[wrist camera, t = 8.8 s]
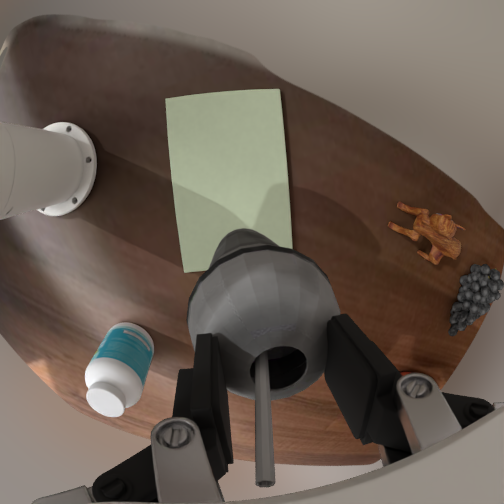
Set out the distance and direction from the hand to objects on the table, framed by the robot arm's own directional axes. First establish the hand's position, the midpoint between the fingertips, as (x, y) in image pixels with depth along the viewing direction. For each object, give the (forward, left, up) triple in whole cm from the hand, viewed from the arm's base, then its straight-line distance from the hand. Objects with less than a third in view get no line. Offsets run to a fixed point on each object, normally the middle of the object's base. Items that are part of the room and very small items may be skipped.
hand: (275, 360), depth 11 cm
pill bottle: (-17, -15, -27) cm, 35 cm away
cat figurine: (+28, -3, -27) cm, 39 cm away
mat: (0, +6, -27) cm, 28 cm away
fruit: (+40, -16, -27) cm, 51 cm away
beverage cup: (0, 0, -15) cm, 15 cm away
